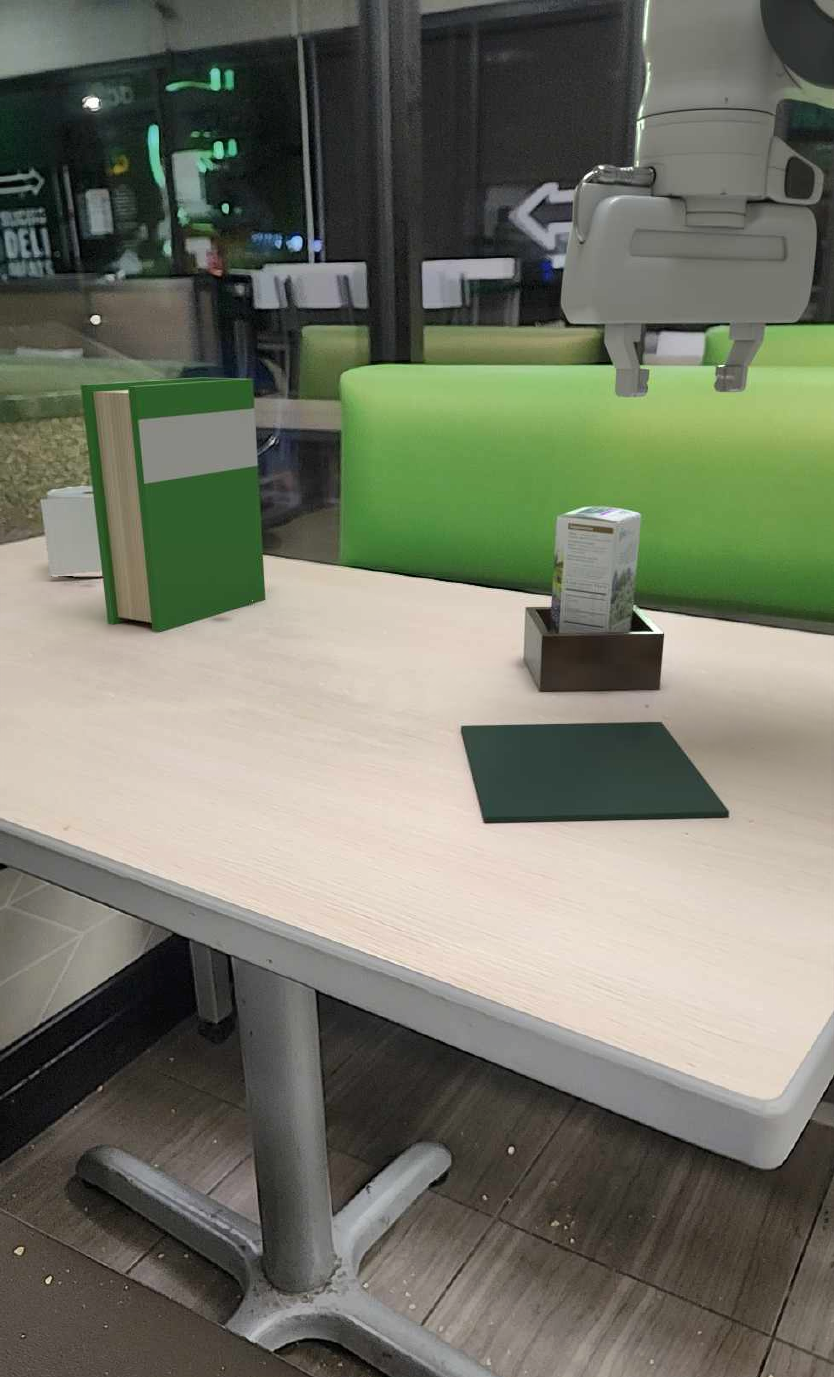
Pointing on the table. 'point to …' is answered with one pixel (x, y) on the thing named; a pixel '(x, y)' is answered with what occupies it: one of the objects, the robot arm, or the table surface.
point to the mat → (585, 773)
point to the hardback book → (175, 497)
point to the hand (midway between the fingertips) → (681, 394)
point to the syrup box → (594, 570)
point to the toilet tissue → (71, 531)
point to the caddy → (593, 655)
